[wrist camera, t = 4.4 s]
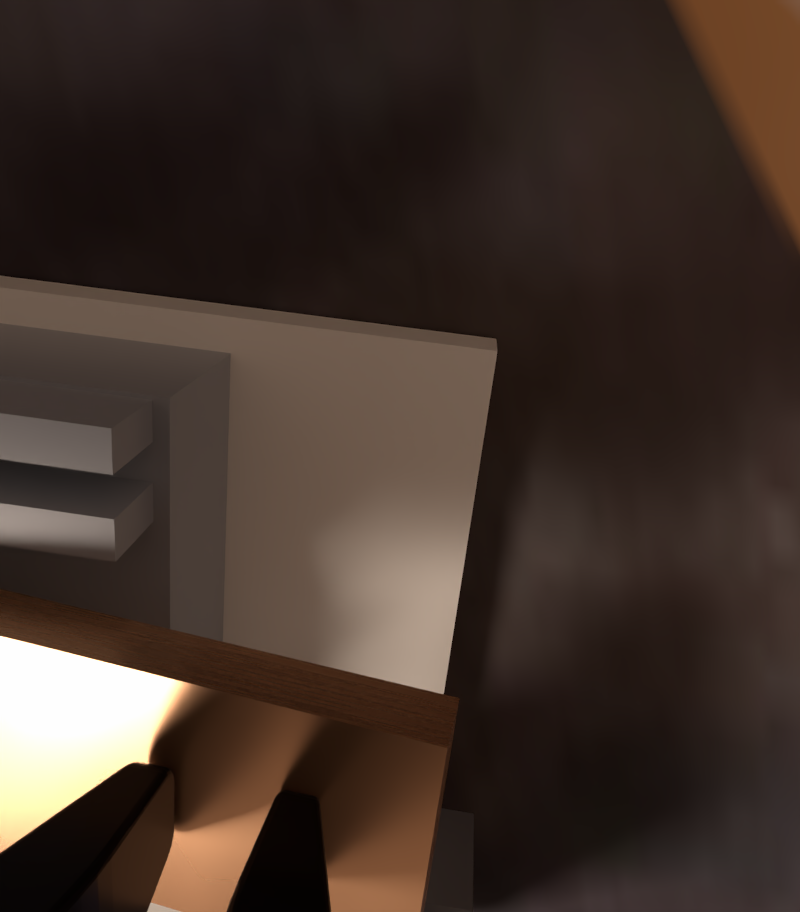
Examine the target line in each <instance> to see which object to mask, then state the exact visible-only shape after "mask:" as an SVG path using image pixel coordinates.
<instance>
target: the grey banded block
mask: <svg viewBox="0 0 800 912" xmlns="http://www.w3.org/2000/svg"><path fill="white" fill-rule="evenodd" d="M473 855H474V813H468V812H462V811H456V810H450V809H443V808H441V813H440V819H439V825H438V831H437V837H436V843H435V849H434V855H433V861H432V867H431V873H430V879H429V885H428V891H427V897H426V903H425V909H424V912H473Z"/></svg>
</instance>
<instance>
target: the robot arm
mask: <svg viewBox="0 0 800 912" xmlns="http://www.w3.org/2000/svg"><path fill="white" fill-rule="evenodd" d="M173 836H174V775H173V772H172V771H171V770H170V769H169V768H167V767H164V766H158V765H153V764H148V763H143V762H132V763H129V764H127V765H125V766H124V767H122V768H121V769H119V770H118V771H117V772H115V773H114V774H112V775H111V776H109V777H108V778H106V779H105V780H104V781H102V782H101V783H99V784H98V785H96V786H95V787H94V788H92V789H91V790H89V791H88V792H86V793H85V794H83V795H82V796H81V797H79V798H78V799H76V800H75V801H73V802H72V803H71V804H69V805H68V806H66V807H65V808H63V809H62V810H61V811H59V812H58V813H56V814H55V815H53V816H52V817H50V818H49V819H48V820H46V821H45V822H43V823H42V824H40V825H39V826H38V827H36V828H35V829H33V830H32V831H30V832H29V833H27V834H26V835H25V836H23V837H22V838H20V839H19V840H17V841H16V842H15V843H13V844H12V845H10V846H9V847H7V848H6V849H5V850H3V851H2V852H0V912H147V911H148V908H149V906H150V903H151V900H152V898H153V895H154V893H155V890H156V887H157V885H158V882H159V879H160V877H161V874H162V872H163V869H164V866H165V864H166V861H167V858H168V855H169V853H170V849H171V846H172V841H173ZM227 912H331V904H330V894H329V885H328V875H327V865H326V855H325V846H324V836H323V826H322V816H321V807H320V801H319V799H318V798H317V797H316V796H313V795H308V794H303V793H297V792H292V791H287V790H283V791H280V792H279V793H278V794H277V795H276V797H275V799H274V801H273V803H272V805H271V808H270V810H269V812H268V814H267V817H266V819H265V821H264V823H263V826H262V828H261V830H260V833H259V835H258V837H257V839H256V842H255V844H254V846H253V848H252V851H251V853H250V855H249V857H248V860H247V862H246V864H245V866H244V869H243V871H242V873H241V876H240V878H239V880H238V882H237V885H236V887H235V890H234V892H233V895H232V897H231V899H230V902H229V905H228V908H227Z"/></svg>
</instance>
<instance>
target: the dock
mask: <svg viewBox="0 0 800 912" xmlns="http://www.w3.org/2000/svg"><path fill="white" fill-rule="evenodd" d="M496 358H497V340H496V339H495V338H487V337H479V336H471V335H463V334H455V333H447V332H440V331H432V330H424V329H416V328H408V327H400V326H392V325H385V324H377V323H369V322H361V321H353V320H345V319H337V318H330V317H322V316H314V315H306V314H298V313H290V312H282V311H275V310H267V309H259V308H251V307H243V306H235V305H227V304H220V303H212V302H204V301H196V300H188V299H180V298H172V297H165V296H157V295H149V294H141V293H133V292H125V291H117V290H110V289H102V288H94V287H86V286H78V285H70V284H62V283H55V282H47V281H39V280H31V279H23V278H15V277H7V276H0V589H4V590H8V591H12V592H17V593H21V594H25V595H29V596H33V597H38V598H42V599H46V600H50V601H54V602H59V603H63V604H67V605H71V606H75V607H80V608H84V609H88V610H92V611H96V612H100V613H105V614H109V615H113V616H117V617H121V618H126V619H130V620H134V621H138V622H142V623H147V624H151V625H155V626H159V627H163V628H168V629H172V630H176V631H180V632H184V633H188V634H193V635H197V636H201V637H205V638H209V639H214V640H218V641H222V642H226V643H230V644H235V645H239V646H243V647H247V648H251V649H256V650H260V651H264V652H268V653H272V654H277V655H281V656H285V657H289V658H293V659H297V660H302V661H306V662H310V663H314V664H318V665H323V666H327V667H331V668H335V669H339V670H344V671H348V672H352V673H356V674H360V675H365V676H369V677H373V678H377V679H381V680H385V681H390V682H394V683H398V684H402V685H406V686H411V687H415V688H419V689H423V690H427V691H432V692H436V693H440V694H444V689H445V683H446V677H447V670H448V664H449V657H450V651H451V645H452V638H453V632H454V626H455V619H456V613H457V606H458V600H459V594H460V587H461V581H462V575H463V568H464V562H465V555H466V549H467V543H468V536H469V530H470V524H471V517H472V511H473V504H474V498H475V492H476V485H477V479H478V473H479V466H480V460H481V453H482V447H483V441H484V434H485V428H486V422H487V415H488V409H489V402H490V396H491V390H492V383H493V377H494V371H495V364H496ZM147 912H180V911H177V910H174V909H171V908H167V907H164V906H161V905H158V904H154V903H150V906H149V908H148V911H147Z"/></svg>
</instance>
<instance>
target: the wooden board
mask: <svg viewBox="0 0 800 912" xmlns="http://www.w3.org/2000/svg"><path fill="white" fill-rule="evenodd" d="M459 699H460V698H457V697H453V696H448V695H444V694H440V693H436V692H432V691H427V690H423V689H419V688H415V687H411V686H406V685H402V684H398V683H394V682H390V681H385V680H381V679H377V678H373V677H369V676H365V675H360V674H356V673H352V672H348V671H344V670H339V669H335V668H331V667H327V666H323V665H318V664H314V663H310V662H306V661H302V660H297V659H293V658H289V657H285V656H281V655H277V654H272V653H268V652H264V651H260V650H256V649H251V648H247V647H243V646H239V645H235V644H230V643H226V642H222V641H218V640H214V639H209V638H205V637H201V636H197V635H193V634H188V633H184V632H180V631H176V630H172V629H168V628H163V627H159V626H155V625H151V624H147V623H142V622H138V621H134V620H130V619H126V618H121V617H117V616H113V615H109V614H105V613H100V612H96V611H92V610H88V609H84V608H80V607H75V606H71V605H67V604H63V603H59V602H54V601H50V600H46V599H42V598H38V597H33V596H29V595H25V594H21V593H17V592H12V591H8V590H4V589H0V852H2V851H3V850H5V849H6V848H7V847H9V846H10V845H12V844H13V843H15V842H16V841H17V840H19V839H20V838H22V837H23V836H25V835H26V834H27V833H29V832H30V831H32V830H33V829H35V828H36V827H38V826H39V825H40V824H42V823H43V822H45V821H46V820H48V819H49V818H50V817H52V816H53V815H55V814H56V813H58V812H59V811H61V810H62V809H63V808H65V807H66V806H68V805H69V804H71V803H72V802H73V801H75V800H76V799H78V798H79V797H81V796H82V795H83V794H85V793H86V792H88V791H89V790H91V789H92V788H94V787H95V786H96V785H98V784H99V783H101V782H102V781H104V780H105V779H106V778H108V777H109V776H111V775H112V774H114V773H115V772H117V771H118V770H119V769H121V768H122V767H124V766H125V765H127V764H129V763H132V762H143V763H148V764H153V765H158V766H164V767H167V768H169V769H170V770H171V771H172V772H173V775H174V836H173V841H172V846H171V849H170V853H169V855H168V858H167V861H166V864H165V866H164V869H163V872H162V874H161V877H160V879H159V882H158V885H157V887H156V890H155V893H154V895H153V898H152V900H151V903H154V904H158V905H161V906H164V907H167V908H171V909H174V910H177V911H180V912H227V908H228V905H229V902H230V899H231V897H232V895H233V892H234V890H235V887H236V885H237V882H238V880H239V878H240V876H241V873H242V871H243V869H244V866H245V864H246V862H247V860H248V857H249V855H250V853H251V851H252V848H253V846H254V844H255V842H256V839H257V837H258V835H259V833H260V830H261V828H262V826H263V823H264V821H265V819H266V817H267V814H268V812H269V810H270V808H271V805H272V803H273V801H274V799H275V797H276V795H277V794H278V793H279V792H280V791H283V790H287V791H292V792H297V793H303V794H308V795H313V796H316V797H317V798H318V799H319V801H320V807H321V816H322V826H323V836H324V846H325V855H326V865H327V875H328V885H329V894H330V904H331V912H424V909H425V903H426V897H427V891H428V885H429V879H430V873H431V867H432V861H433V855H434V849H435V843H436V837H437V831H438V825H439V819H440V813H441V807H442V801H443V795H444V789H445V783H446V777H447V771H448V765H449V759H450V753H451V747H452V741H453V735H454V729H455V723H456V717H457V711H458V705H459Z"/></svg>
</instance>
